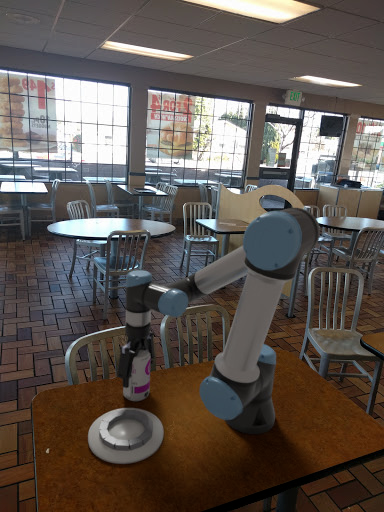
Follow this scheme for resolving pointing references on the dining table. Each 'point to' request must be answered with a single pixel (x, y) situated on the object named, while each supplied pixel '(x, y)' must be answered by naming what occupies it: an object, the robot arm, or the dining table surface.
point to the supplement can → (140, 376)
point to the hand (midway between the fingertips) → (136, 387)
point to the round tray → (125, 435)
